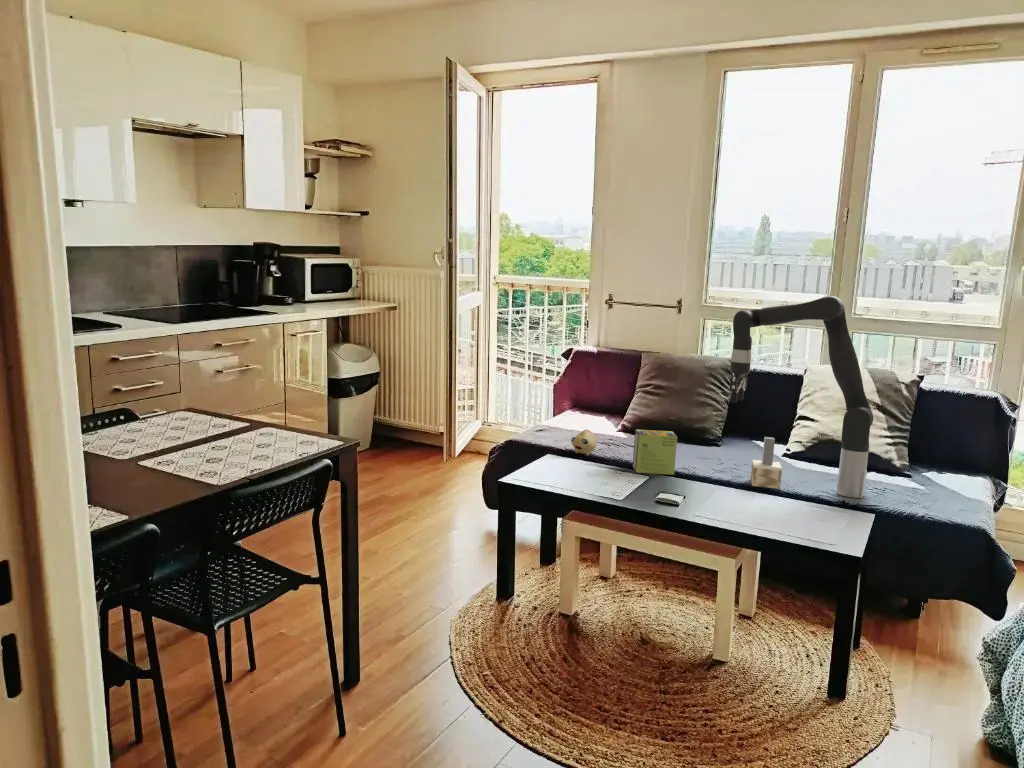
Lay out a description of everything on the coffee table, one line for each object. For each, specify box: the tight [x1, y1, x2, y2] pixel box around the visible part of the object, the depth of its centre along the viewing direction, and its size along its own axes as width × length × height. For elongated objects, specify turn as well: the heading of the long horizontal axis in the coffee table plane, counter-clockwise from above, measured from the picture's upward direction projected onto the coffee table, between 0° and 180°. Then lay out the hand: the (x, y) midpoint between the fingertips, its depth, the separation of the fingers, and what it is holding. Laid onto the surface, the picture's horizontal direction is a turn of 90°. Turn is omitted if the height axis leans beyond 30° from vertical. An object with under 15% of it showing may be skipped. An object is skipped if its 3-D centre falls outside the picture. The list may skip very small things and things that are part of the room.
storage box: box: [750, 462, 783, 490], centre depth 294 cm, size 10×10×7 cm
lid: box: [751, 436, 783, 472], centre depth 293 cm, size 10×10×12 cm
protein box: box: [632, 429, 678, 476], centre depth 306 cm, size 10×15×16 cm
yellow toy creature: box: [570, 429, 598, 457], centre depth 329 cm, size 10×12×11 cm
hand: (737, 401), depth 306 cm, fingers open, 8 cm apart
